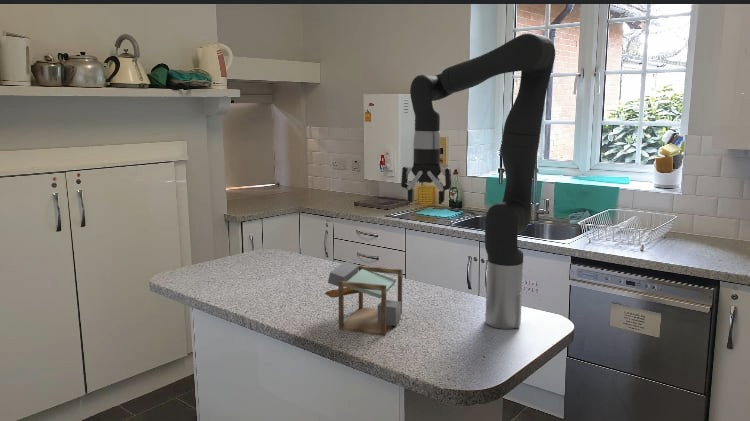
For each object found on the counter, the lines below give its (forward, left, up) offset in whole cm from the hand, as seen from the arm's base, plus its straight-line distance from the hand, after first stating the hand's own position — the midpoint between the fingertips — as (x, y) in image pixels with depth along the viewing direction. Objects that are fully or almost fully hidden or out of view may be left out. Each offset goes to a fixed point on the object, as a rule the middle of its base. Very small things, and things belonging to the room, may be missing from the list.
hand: (425, 203), depth 168 cm
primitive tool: (+23, -3, -31) cm, 39 cm away
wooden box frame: (+10, +20, -30) cm, 37 cm away
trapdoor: (+13, +20, -20) cm, 31 cm away
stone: (+8, +20, -27) cm, 34 cm away
